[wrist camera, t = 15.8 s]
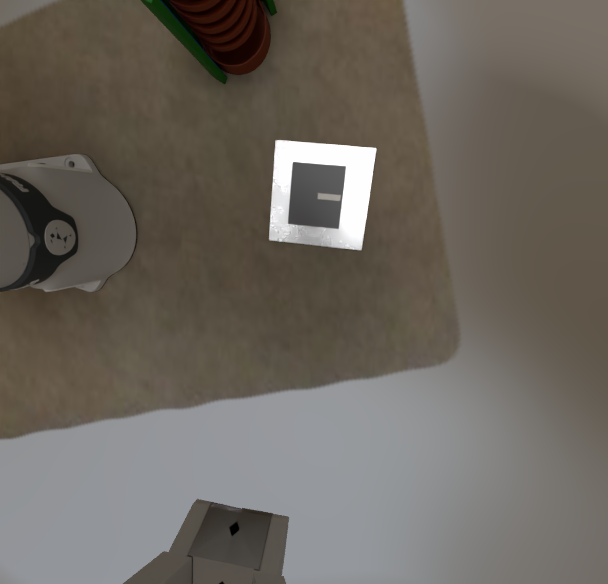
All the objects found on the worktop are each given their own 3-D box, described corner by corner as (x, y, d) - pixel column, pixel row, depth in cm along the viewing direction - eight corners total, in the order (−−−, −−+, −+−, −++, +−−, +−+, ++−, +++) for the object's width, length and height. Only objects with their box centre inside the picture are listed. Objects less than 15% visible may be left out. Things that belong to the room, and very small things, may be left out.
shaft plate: (270, 239, 42) (262, 242, 38) (277, 141, 39) (269, 133, 34) (361, 249, 41) (363, 254, 37) (375, 149, 38) (379, 142, 33)
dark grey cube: (299, 168, 38) (292, 161, 33) (345, 172, 38) (346, 165, 32) (295, 221, 40) (287, 223, 34) (339, 226, 40) (338, 229, 34)
